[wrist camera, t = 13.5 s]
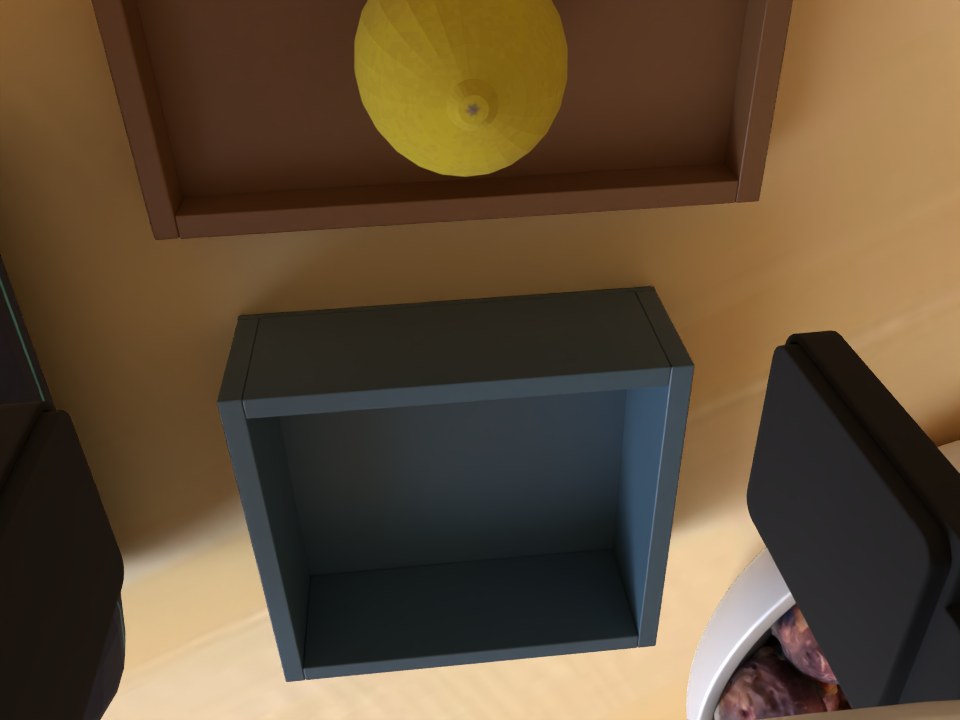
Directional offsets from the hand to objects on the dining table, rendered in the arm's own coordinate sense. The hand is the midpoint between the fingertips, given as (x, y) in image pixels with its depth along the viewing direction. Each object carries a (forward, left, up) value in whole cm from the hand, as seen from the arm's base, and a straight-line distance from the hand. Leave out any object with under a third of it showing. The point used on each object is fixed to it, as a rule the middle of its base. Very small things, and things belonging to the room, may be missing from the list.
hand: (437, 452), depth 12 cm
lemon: (+1, +1, -18) cm, 18 cm away
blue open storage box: (+1, -16, -19) cm, 25 cm away
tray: (+2, +1, -19) cm, 19 cm away
